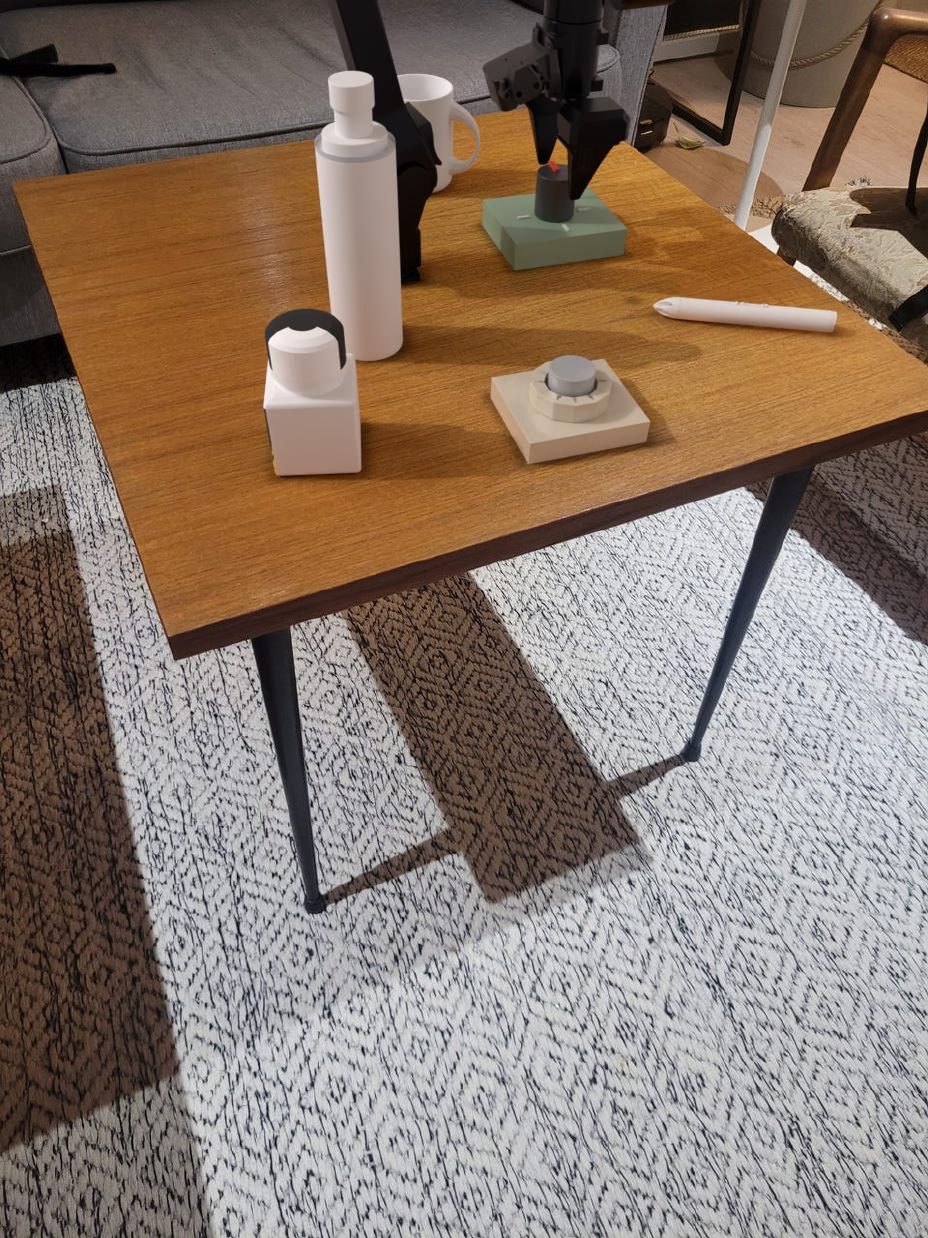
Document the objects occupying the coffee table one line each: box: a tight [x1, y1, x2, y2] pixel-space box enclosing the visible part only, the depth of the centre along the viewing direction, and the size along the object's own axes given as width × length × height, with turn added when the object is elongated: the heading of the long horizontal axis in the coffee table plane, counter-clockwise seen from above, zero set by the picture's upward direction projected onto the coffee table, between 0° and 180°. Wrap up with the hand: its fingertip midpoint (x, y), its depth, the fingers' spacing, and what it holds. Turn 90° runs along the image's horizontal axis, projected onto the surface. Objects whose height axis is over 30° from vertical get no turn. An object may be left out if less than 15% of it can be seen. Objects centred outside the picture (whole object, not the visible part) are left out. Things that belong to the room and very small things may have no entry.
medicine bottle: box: [262, 308, 362, 477], centre depth 74 cm, size 7×7×12 cm
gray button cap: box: [548, 354, 596, 397], centre depth 79 cm, size 4×4×2 cm
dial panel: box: [481, 186, 628, 271], centre depth 103 cm, size 13×11×3 cm
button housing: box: [490, 358, 651, 465], centre depth 80 cm, size 11×10×4 cm
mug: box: [397, 73, 481, 194], centre depth 110 cm, size 9×12×11 cm
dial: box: [534, 160, 575, 222], centre depth 100 cm, size 4×4×5 cm
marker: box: [652, 296, 838, 333], centre depth 92 cm, size 18×2×2 cm, turn 82°
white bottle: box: [314, 70, 404, 362], centre depth 80 cm, size 7×7×25 cm
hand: (558, 181), depth 100 cm, fingers open, 9 cm apart
